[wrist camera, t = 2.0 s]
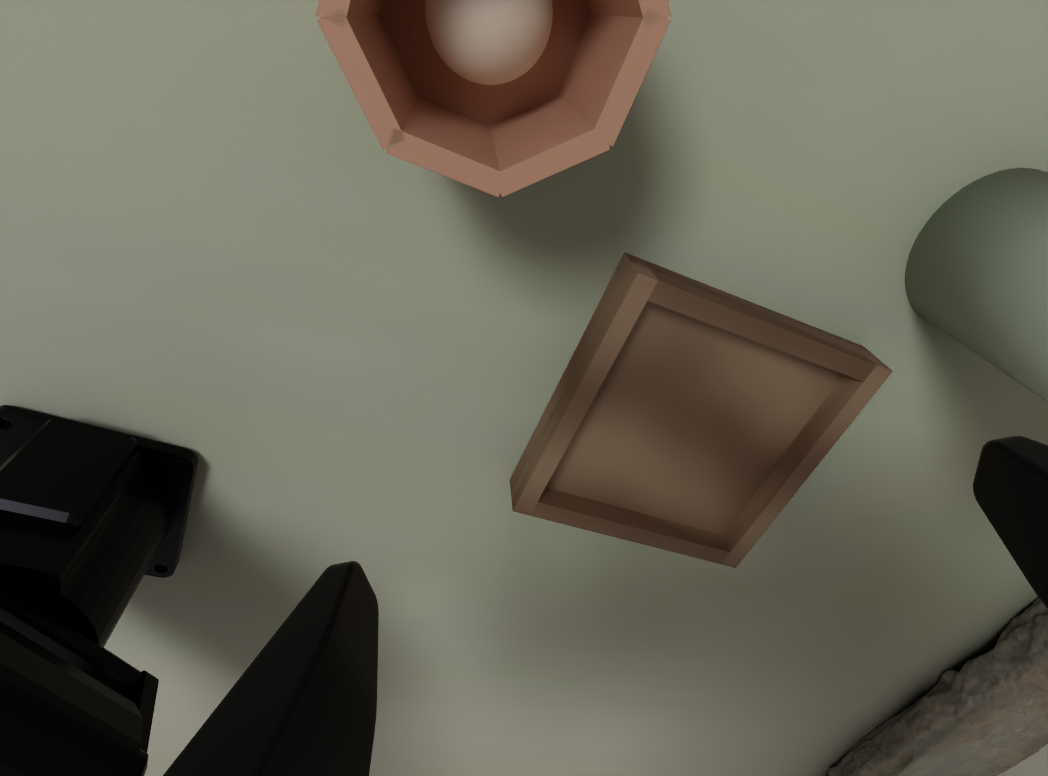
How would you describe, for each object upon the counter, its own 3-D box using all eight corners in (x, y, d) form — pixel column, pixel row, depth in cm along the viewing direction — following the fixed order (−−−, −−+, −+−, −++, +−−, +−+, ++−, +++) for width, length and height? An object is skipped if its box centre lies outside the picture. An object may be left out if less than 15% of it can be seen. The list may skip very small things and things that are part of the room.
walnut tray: (720, 536, 28) (735, 567, 26) (509, 479, 25) (512, 511, 23) (864, 346, 23) (892, 371, 21) (624, 252, 20) (638, 272, 19)
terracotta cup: (544, 167, 19) (575, 227, 14) (344, 82, 17) (293, 116, 12) (639, -61, 16) (721, -92, 11) (410, -186, 14) (381, -291, 9)
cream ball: (518, 97, 17) (528, 113, 15) (413, 49, 16) (403, 58, 14) (564, -24, 16) (583, -29, 13) (450, -82, 15) (448, -99, 12)
